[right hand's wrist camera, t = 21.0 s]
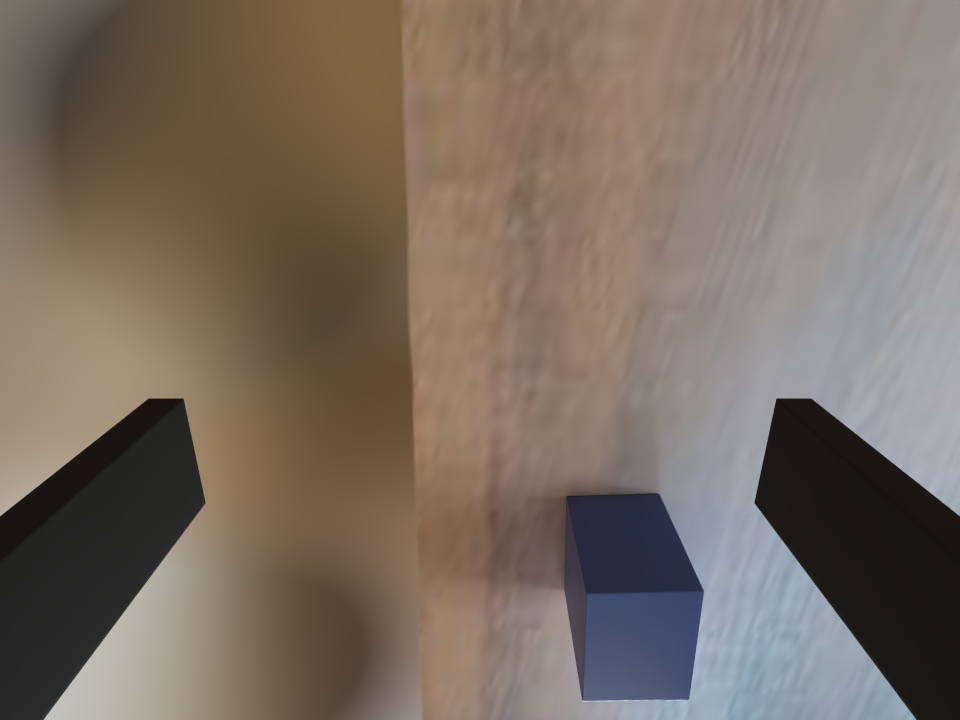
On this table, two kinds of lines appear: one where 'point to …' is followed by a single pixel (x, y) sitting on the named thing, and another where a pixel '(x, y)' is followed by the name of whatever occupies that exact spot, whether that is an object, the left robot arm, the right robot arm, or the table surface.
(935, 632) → the right robot arm
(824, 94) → the table surface
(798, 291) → the table surface
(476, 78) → the table surface
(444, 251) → the table surface
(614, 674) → the block
